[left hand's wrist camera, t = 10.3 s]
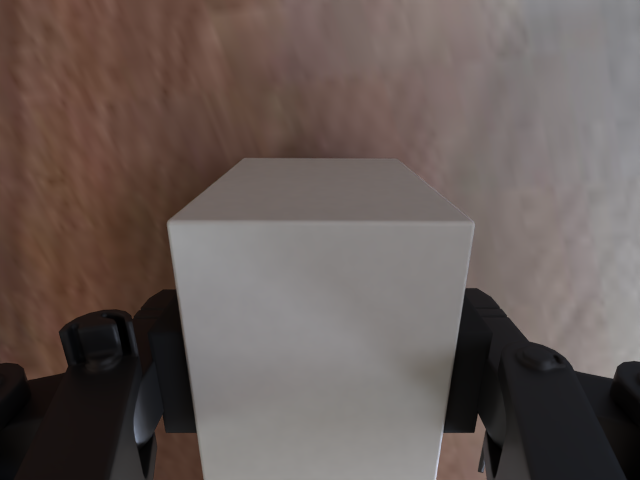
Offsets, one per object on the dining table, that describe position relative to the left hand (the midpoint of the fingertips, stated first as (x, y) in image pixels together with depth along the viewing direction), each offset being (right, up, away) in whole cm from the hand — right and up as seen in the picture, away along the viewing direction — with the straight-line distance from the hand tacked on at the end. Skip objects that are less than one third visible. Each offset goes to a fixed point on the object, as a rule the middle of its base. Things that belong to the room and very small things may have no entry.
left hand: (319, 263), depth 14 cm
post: (0, -28, +11) cm, 30 cm away
